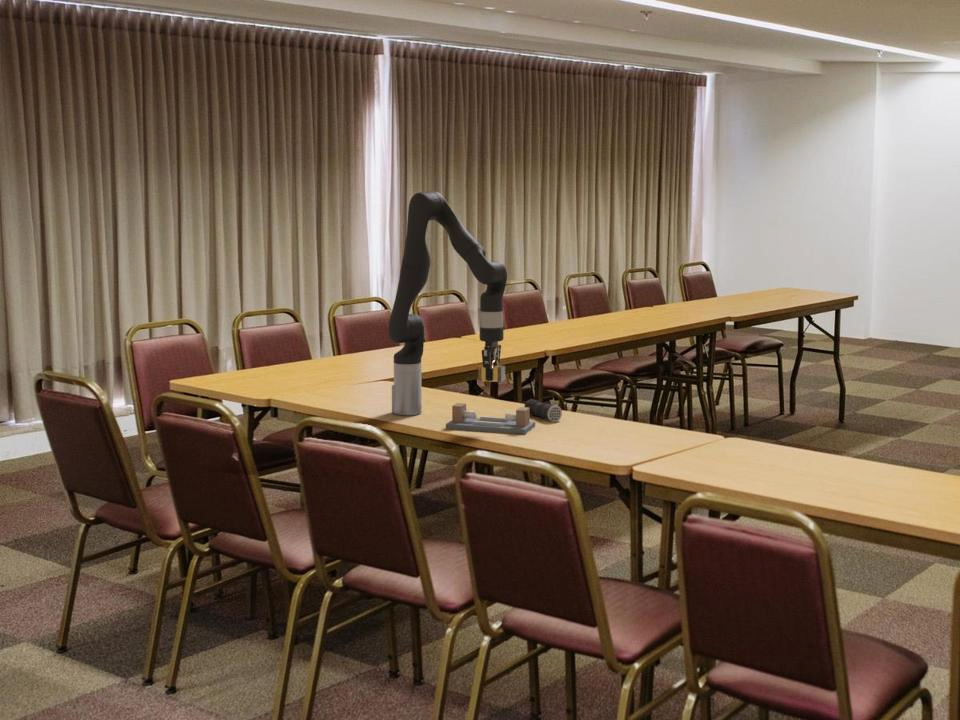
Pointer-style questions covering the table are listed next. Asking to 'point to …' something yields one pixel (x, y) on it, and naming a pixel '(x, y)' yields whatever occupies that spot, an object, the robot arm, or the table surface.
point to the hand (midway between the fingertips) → (491, 379)
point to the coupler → (497, 373)
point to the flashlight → (544, 410)
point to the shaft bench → (490, 421)
